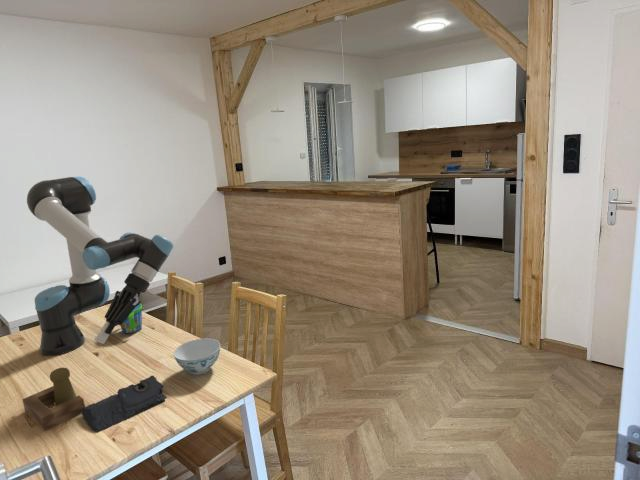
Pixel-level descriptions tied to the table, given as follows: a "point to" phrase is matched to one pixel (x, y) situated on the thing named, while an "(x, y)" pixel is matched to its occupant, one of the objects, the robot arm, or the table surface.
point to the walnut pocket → (55, 415)
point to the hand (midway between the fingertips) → (98, 341)
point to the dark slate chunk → (124, 404)
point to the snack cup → (133, 321)
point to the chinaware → (197, 355)
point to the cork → (62, 385)
